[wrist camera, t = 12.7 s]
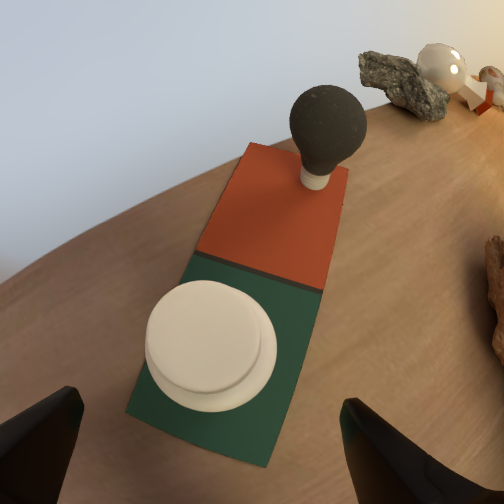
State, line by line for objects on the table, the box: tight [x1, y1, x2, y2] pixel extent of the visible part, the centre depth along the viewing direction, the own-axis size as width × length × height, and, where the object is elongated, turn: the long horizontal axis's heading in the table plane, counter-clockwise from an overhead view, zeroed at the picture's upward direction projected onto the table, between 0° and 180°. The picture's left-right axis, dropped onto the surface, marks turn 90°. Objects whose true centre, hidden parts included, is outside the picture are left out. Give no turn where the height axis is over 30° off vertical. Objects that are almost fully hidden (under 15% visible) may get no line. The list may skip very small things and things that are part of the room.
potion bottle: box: [417, 43, 494, 116], centre depth 34 cm, size 9×10×15 cm
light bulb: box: [289, 85, 367, 190], centre depth 21 cm, size 6×6×10 cm
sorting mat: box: [126, 142, 349, 467], centre depth 22 cm, size 10×26×1 cm, turn 161°
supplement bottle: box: [145, 280, 277, 412], centre depth 14 cm, size 6×6×10 cm
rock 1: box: [358, 51, 450, 122], centre depth 31 cm, size 13×13×10 cm
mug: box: [479, 66, 504, 110], centre depth 39 cm, size 8×10×10 cm
